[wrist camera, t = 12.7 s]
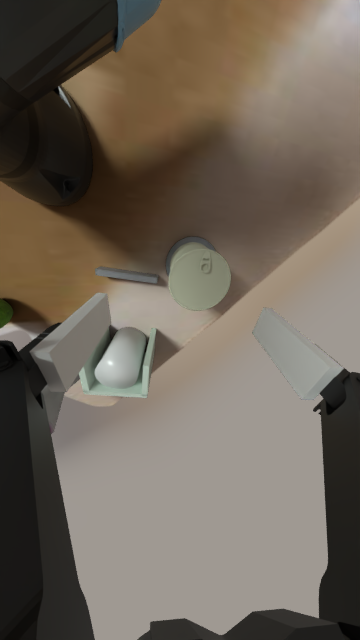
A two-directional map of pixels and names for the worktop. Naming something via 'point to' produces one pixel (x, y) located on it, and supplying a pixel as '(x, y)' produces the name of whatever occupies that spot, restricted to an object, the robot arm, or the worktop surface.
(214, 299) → the can
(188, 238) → the coaster
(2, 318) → the fruit
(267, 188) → the worktop surface
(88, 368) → the dispenser
